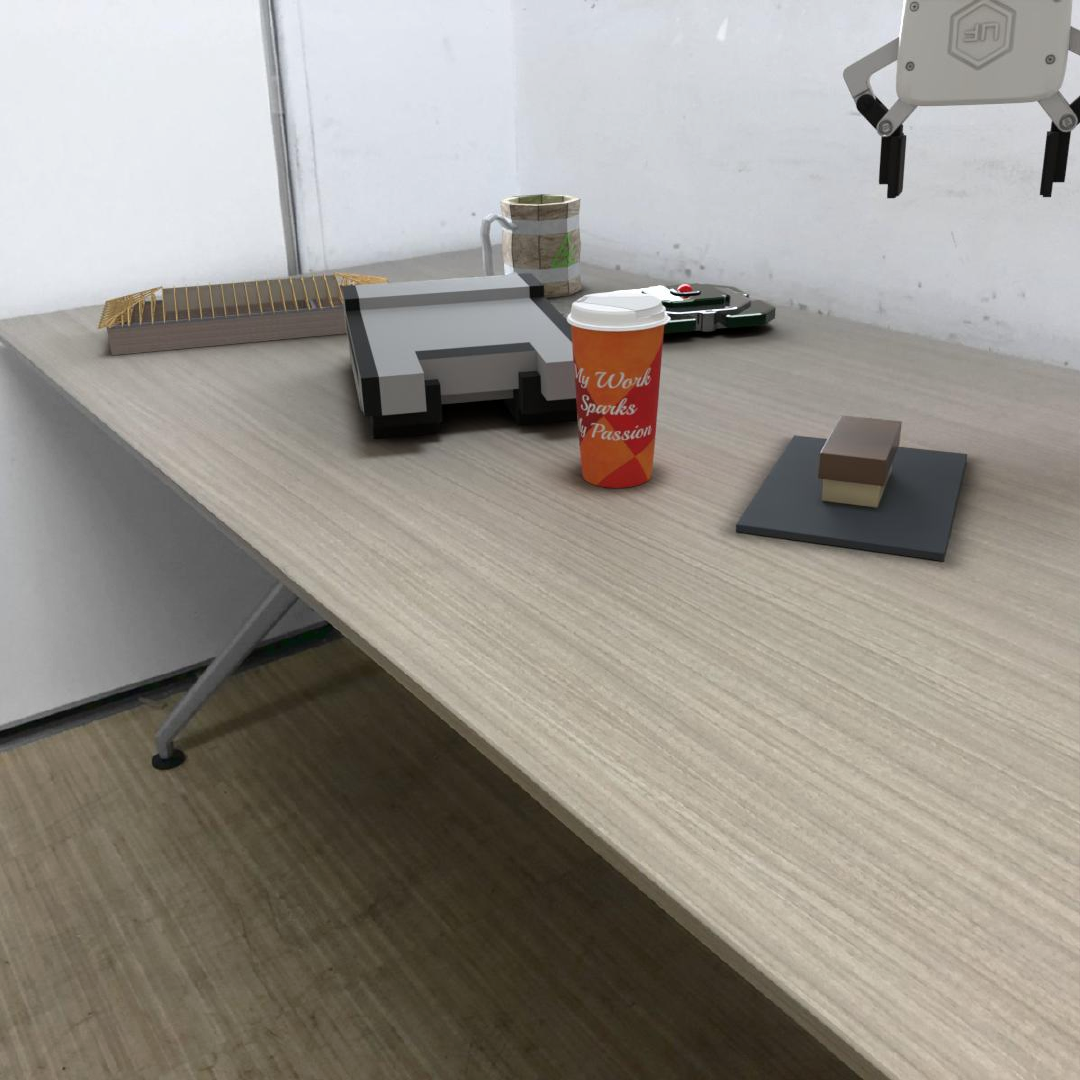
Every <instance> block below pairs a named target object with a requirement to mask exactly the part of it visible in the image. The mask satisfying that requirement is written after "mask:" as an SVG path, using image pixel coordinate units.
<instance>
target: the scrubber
mask: <svg viewBox="0 0 1080 1080" xmlns="http://www.w3.org/2000/svg"><path fill="white" fill-rule="evenodd" d="M902 425H903V421H901V420H894V419H893V420H892V419H882V418H874V417H873V418H872V417H863V416H852V415H843V414H842V415H840V416H839V419H838V420H837V422H836V424H835V426H834V427H833V429H832V431H831V433H830V435H829V437H828V438H827V439H828V440H827V442H826V443H825V445H824V447H823V449H822V450H821V452H820V458H819V470H818V478H820V479H823V491H822V501H828V502H836V503H844V504H852V505H860V506H867V507H875V508H877V507H878V505H879V502H880V500H881V497H882V494H883V492H884V489H885V487H886V484H887V481H888V479H889V476H890V474H891V470H892V462H893V460H894V457H895V455H896V452H897V450H898V447H900V441H901V433H902V427H903V426H902Z"/></svg>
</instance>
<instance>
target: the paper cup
mask: <svg viewBox="0 0 1080 1080" xmlns="http://www.w3.org/2000/svg"><path fill="white" fill-rule="evenodd" d="M665 311H666V308H665V307H664V306H662V302H661V299H659V298H658V297H656V296H653V295H649V294H644V293H634V292H613V291H608V292H607V291H606V292H597V293H596V292H595V293H589V294H585V295H583V296H582V297H579V298H578V299H576V300H575V301H573V302H572V303H571V309H570V313H568V315H567V317H566V319H567V322H568V323H569V324H571V330H572V347H573V364H574V376H575V389H576V402H577V416H578V420H577V427H578V440H579V453H580V455H579V456H580V465H581V475H582V478H583V480H584V481H586V482H587V483H589V484H591V485H594V486H598V487H603V488H611V489H623V488H632V487H636V486H637V487H638V486H640V485H644V484H645V483H647V482H648V481H649V480H650V479H651V478H652V474H653V466H654V456H655V446H656V445H655V444H656V432H657V422H658V411H659V409H658V408H659V399H660V398H659V397H660V396H659V395H660V383H661V368H662V358H663V357H662V356H663V346H664V334H663V333H664V324H667V323H668V322H669V321H670V317H669V316H668V315H667V313H666V312H665Z"/></svg>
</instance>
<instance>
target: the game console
mask: <svg viewBox="0 0 1080 1080" xmlns="http://www.w3.org/2000/svg"><path fill="white" fill-rule="evenodd" d="M341 287H342V297H343V307H344V317H345V327H346V332H347V333H346V336H347V341H348V350H349V358H350V364H351V368H352V369H351V370H352V373H353V378H354V383H355V388H356V389H355V390H356V392H357V397H358V403H359V407H360V411H361V412H362V413H363V416H364V418H368V419H369V424H370V429H371V433H372V438H373V439H383V438H395V437H405V436H415V435H427V434H437V433H441V423H443V422H444V419H443V406H442V405H449V404H450V405H451V404H460V403H461V404H462V403H470V402H471V403H472V402H473V403H474V402H483V401H494V400H496V401H497V400H503V402H504V403H505V405H506V407H507V408H508V410H509V412H510V413H511V415H512V416H513V418H514V420H515V421H516V424H517V426H523V425H533V424H534V425H535V424H546V423H556V422H566V421H578V416H577V402H576V389H575V376H574V364H573V347H572V330H571V324H569V323H568V322H567V317H565V316H564V315H563V314H562V313H561V312H560V311H559V310H558V308H556V307H555V306H554V305H553V304H552V302H550V301H549V300H548V298H545V297H544V285H543V284H542V283H541V282H540V281H539V280H538V279H537V278H536V277H535V276H534V275H533V274H531V273H525V274H511V275H505V274H499V275H495V276H485V275H484V276H482V275H481V276H471V277H470V276H469V277H453V278H438V279H424V280H412V281H411V280H409V281H397V282H395V281H394V282H390V283H387V282H386V283H379V284H365V285H350V286H341Z"/></svg>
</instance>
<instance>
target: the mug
mask: <svg viewBox="0 0 1080 1080" xmlns="http://www.w3.org/2000/svg"><path fill="white" fill-rule="evenodd" d="M499 204H500V210H501V214H499V213H495V212H491V213H489V214H488V215H486V216H485V217H484V218H482V220H481V224H480V230H479V236H480V237H479V238H480V244H481V254H482V267H483V274H484V276H496V275H495V273H494V263H493V247H492V241H491V237H490V236H491V235H490V234H491V224H492V223H493V222H494V221H496V222H497V223H498V225H499V226H500V227H501V228H502V236H501V250H502V257H503V258H502V259H503V265H504V266H503V267H504V275H511V274H525V273H531V274H533V275H534V276H535V277H536V278H537V279H538V280H539V281H540V282H541V283H542V284H543V285H544V297H545V298H546V299H548V298H558V297H559V298H560V297H568V296H572V295H573V294H575V293H577V292H579V291H581V290H583V287H582V281H581V251H582V250H581V249H582V243H581V232H580V208H581V198H579V197H576V196H573V195H570V194H548V193H546V194H545V193H539V194H528V195H527V194H525V195H513V196H510V197H507V198H504V199H500V200H499Z"/></svg>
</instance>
